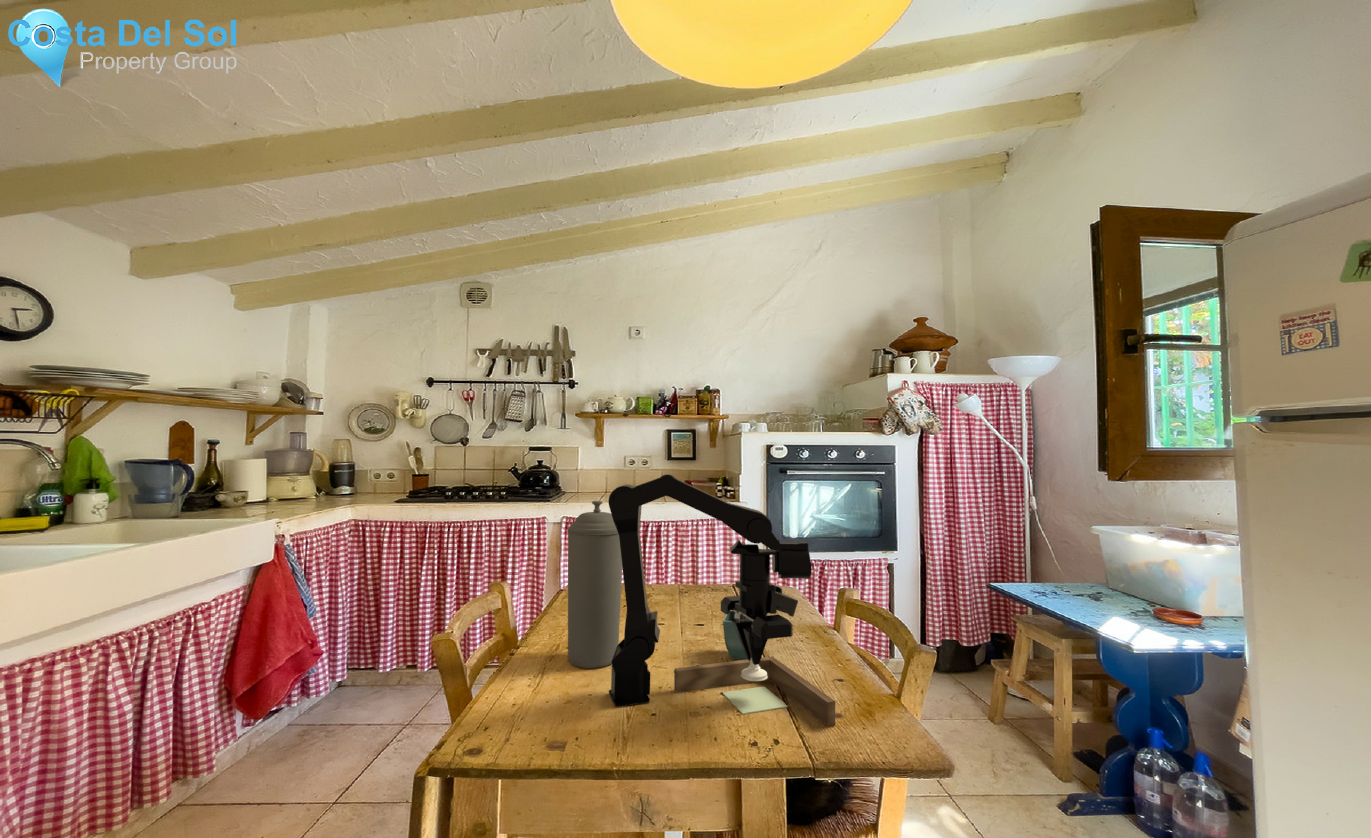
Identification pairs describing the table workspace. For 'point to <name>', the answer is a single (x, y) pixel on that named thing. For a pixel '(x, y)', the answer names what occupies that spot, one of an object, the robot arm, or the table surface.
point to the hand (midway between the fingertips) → (753, 662)
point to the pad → (754, 700)
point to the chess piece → (754, 673)
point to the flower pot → (732, 638)
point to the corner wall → (776, 673)
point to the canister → (593, 589)
